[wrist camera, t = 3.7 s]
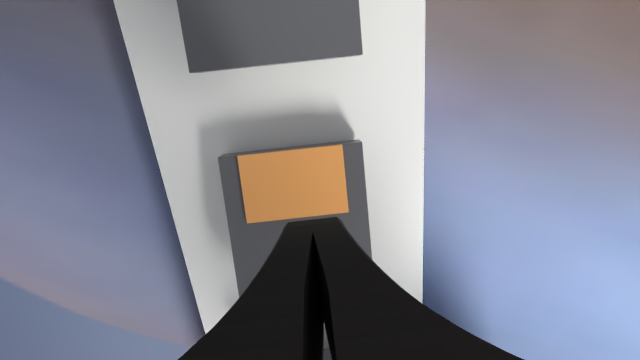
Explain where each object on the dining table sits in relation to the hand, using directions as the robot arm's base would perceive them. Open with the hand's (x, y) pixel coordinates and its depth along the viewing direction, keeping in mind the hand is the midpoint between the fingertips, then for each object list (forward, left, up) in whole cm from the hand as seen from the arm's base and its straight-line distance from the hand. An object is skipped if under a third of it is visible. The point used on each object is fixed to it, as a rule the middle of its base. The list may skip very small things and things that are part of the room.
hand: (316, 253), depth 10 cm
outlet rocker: (-2, +1, -5) cm, 5 cm away
